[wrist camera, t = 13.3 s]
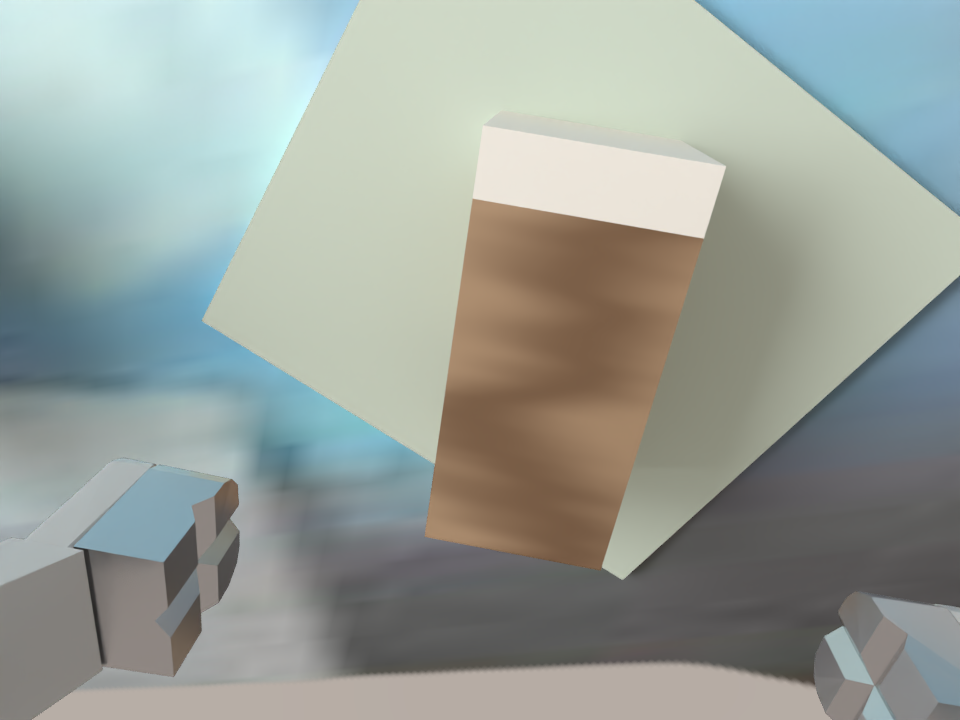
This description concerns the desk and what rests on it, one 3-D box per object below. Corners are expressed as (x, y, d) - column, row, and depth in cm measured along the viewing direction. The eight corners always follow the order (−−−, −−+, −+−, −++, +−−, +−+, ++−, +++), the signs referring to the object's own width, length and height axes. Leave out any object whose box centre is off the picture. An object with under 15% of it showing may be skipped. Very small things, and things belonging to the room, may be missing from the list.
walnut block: (424, 536, 18) (482, 125, 13) (451, 440, 22) (501, 110, 17) (600, 570, 17) (725, 166, 13) (590, 467, 22) (681, 140, 17)
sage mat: (210, 314, 22) (201, 320, 21) (459, -186, 15) (456, -195, 15) (621, 568, 24) (622, 579, 24) (980, 239, 18) (993, 244, 17)
